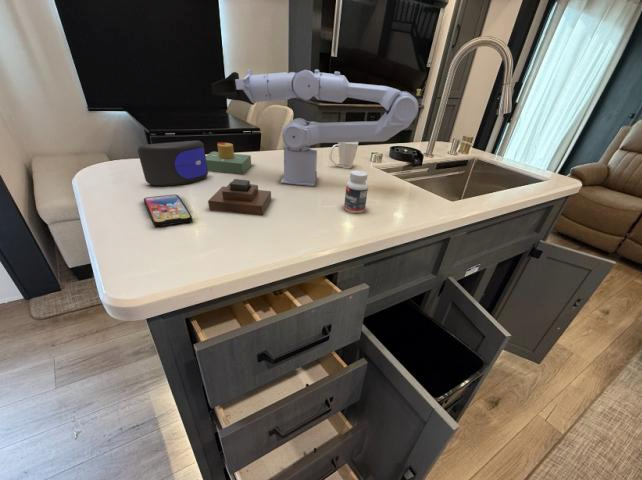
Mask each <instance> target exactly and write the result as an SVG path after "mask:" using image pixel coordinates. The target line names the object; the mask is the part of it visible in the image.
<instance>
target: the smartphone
mask: <svg viewBox="0 0 642 480" xmlns="http://www.w3.org/2000/svg"><path fill="white" fill-rule="evenodd" d="M143 203H144V205H145V208H146V210H147V212H148V214H149V217H150V220H151V221H152V224H153V225H154V226H156V227H162V226H170V225H176V224H183V223H189V222H192V221H193V216H192V214H191V212H190V211H189V210H188V208H187V207H186V205H185V203H184V202H183V200H182V199H181V197H180V195H178V194H165V195H164V194H163V195H155V196H147V197H144V198H143Z"/></svg>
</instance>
